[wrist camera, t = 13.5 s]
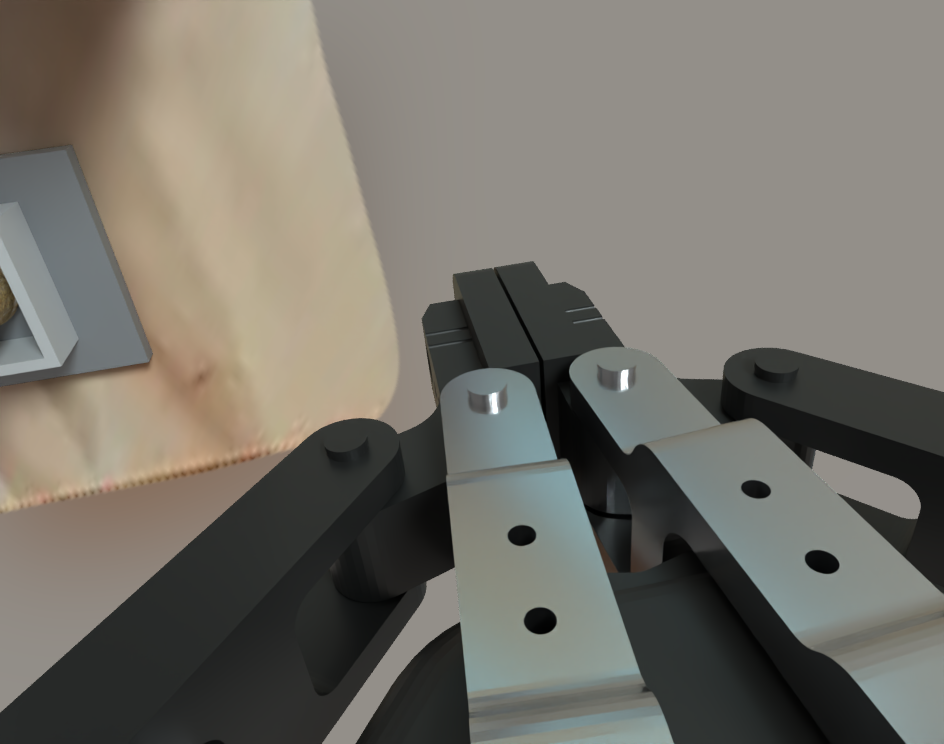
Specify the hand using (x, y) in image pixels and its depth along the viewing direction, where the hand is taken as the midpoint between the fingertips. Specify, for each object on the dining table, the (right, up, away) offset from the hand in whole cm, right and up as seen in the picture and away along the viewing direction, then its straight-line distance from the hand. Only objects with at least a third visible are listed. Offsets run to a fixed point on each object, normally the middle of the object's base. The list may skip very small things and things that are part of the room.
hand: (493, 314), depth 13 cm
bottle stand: (-26, +4, +24) cm, 36 cm away
